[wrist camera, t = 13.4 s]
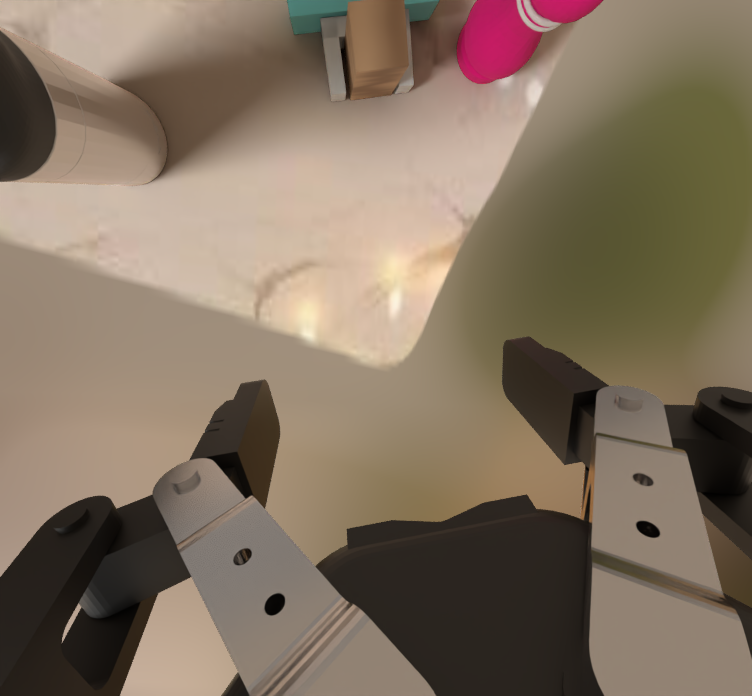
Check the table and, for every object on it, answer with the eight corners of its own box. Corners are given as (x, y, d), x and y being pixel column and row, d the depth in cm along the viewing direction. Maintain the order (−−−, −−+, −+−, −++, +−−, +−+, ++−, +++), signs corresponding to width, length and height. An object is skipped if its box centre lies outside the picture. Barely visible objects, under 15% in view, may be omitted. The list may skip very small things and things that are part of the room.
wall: (294, 34, 36) (289, 16, 32) (289, 9, 35) (284, -13, 31) (428, 19, 37) (439, 0, 33) (427, -6, 36) (438, -28, 32)
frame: (331, 101, 38) (331, 94, 36) (320, 31, 36) (320, 18, 33) (407, 92, 39) (413, 84, 36) (402, 22, 36) (408, 8, 34)
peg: (350, 100, 39) (356, 72, 30) (343, 49, 37) (348, 1, 28) (390, 95, 39) (409, 65, 30) (386, 43, 37) (403, -5, 28)
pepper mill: (467, -8, 36) (606, -209, 18) (527, 23, 38) (709, -133, 20) (441, 74, 39) (540, -30, 21) (498, 100, 40) (636, 24, 22)
